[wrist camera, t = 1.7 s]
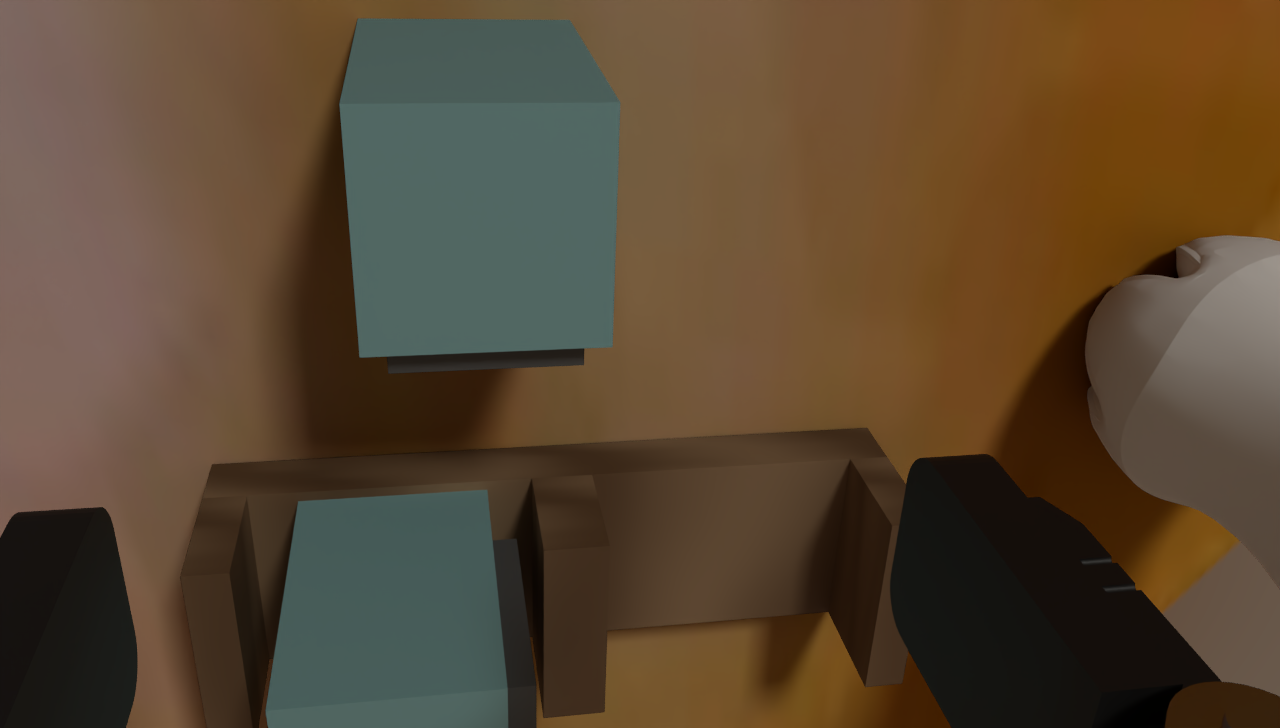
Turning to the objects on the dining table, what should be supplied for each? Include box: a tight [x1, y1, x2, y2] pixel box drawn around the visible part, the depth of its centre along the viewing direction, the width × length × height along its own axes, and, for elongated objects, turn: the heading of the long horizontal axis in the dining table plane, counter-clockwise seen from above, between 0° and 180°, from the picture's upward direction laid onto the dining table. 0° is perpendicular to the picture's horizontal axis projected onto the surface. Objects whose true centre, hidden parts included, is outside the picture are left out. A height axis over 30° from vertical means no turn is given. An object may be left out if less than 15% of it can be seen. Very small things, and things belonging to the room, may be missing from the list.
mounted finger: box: [266, 490, 536, 728], centre depth 26 cm, size 5×4×7 cm
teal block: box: [339, 19, 620, 374], centre depth 23 cm, size 5×4×7 cm
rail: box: [180, 428, 908, 728], centre depth 29 cm, size 17×5×4 cm, turn 88°
